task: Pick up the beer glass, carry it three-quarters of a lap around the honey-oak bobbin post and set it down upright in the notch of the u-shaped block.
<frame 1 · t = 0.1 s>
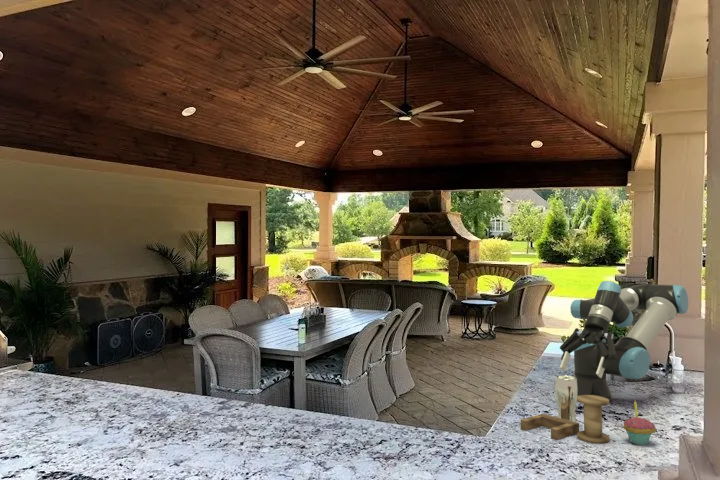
hand: (579, 372, 185), 15 cm above the countertop, tool tilted 35°, fingers open, 13 cm apart
cupcake: (639, 442, 159), on the countertop
bobbin: (593, 438, 162), on the countertop
u-shaped block: (549, 431, 169), on the countertop
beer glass: (566, 423, 178), on the countertop
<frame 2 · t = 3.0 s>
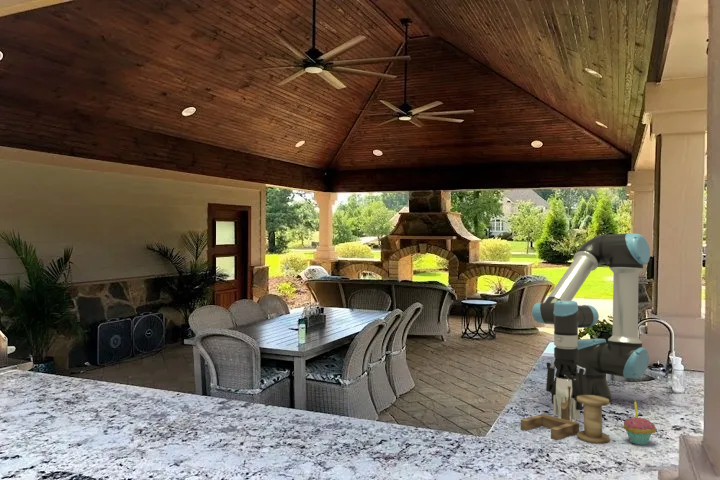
hand: (566, 416, 179), 2 cm above the countertop, tool pointing down, fingers closed on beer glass, 6 cm apart
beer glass: (566, 423, 178), on the countertop, touching gripper
everything else where it was.
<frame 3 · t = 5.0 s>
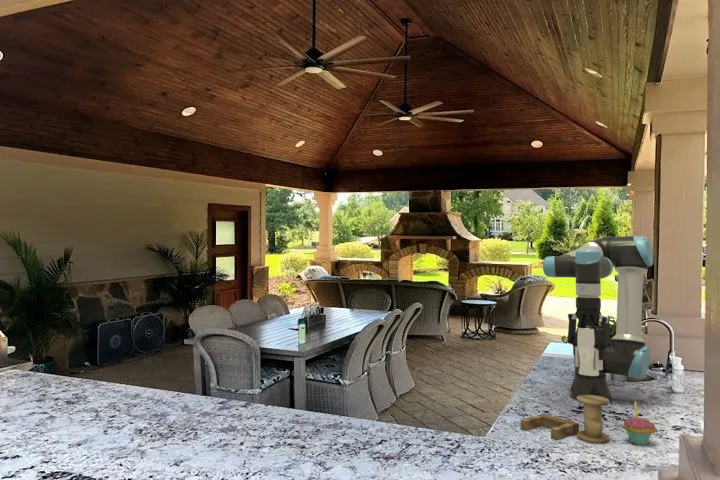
hand: (588, 368, 174), 19 cm above the countertop, tool pointing down, fingers closed on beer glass, 6 cm apart
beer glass: (588, 374, 173), point 17 cm above the countertop, touching gripper
everything else where it was.
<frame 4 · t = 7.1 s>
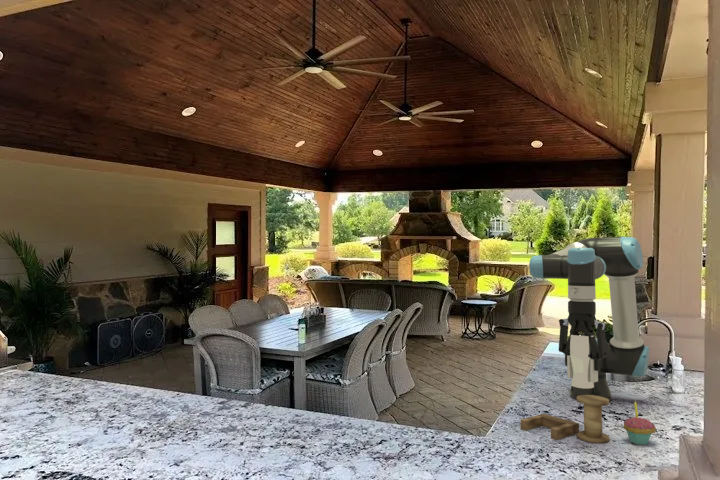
hand: (582, 379, 156), 19 cm above the countertop, tool pointing down, fingers closed on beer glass, 6 cm apart
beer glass: (582, 387, 156), point 17 cm above the countertop, touching gripper
everything else where it was.
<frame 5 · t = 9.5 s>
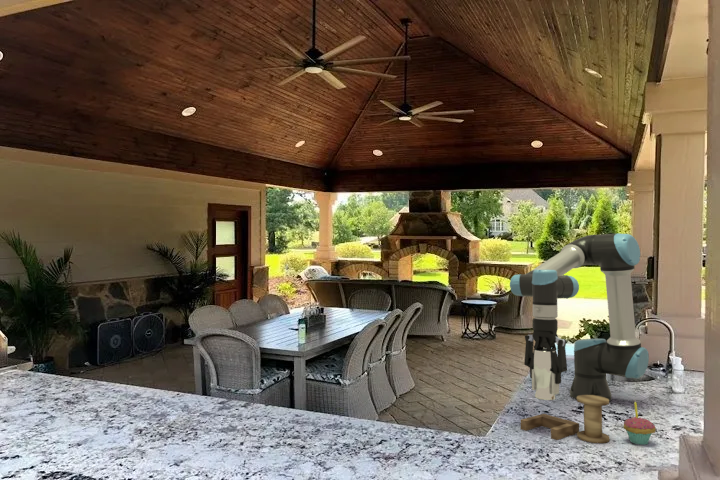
hand: (545, 391, 169), 13 cm above the countertop, tool pointing down, fingers closed on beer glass, 6 cm apart
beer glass: (545, 398, 169), point 10 cm above the countertop, touching gripper
everything else where it was.
when the fingers open (4 cm above the countertop, at t = 11.4 s): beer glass drops 2 cm, on the countertop.
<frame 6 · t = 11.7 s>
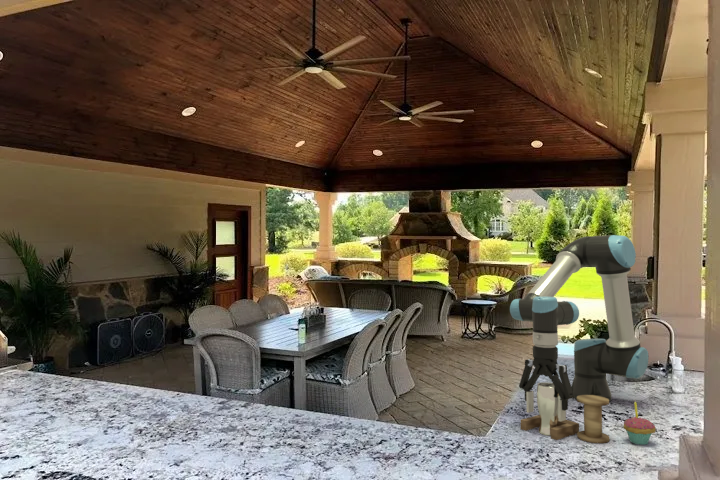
hand: (545, 416, 168), 5 cm above the countertop, tool pointing down, fingers open, 11 cm apart
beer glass: (548, 433, 167), on the countertop
everything else where it was.
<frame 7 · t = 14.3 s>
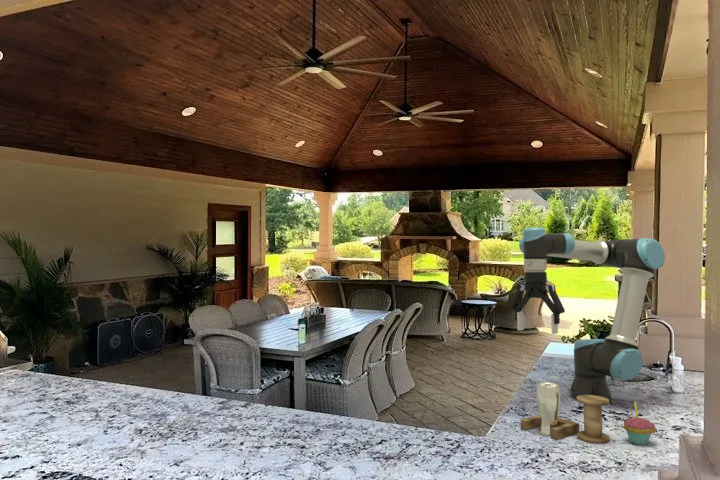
hand: (537, 331, 189), 29 cm above the countertop, tool pointing down, fingers open, 13 cm apart
nothing on the countertop moved.
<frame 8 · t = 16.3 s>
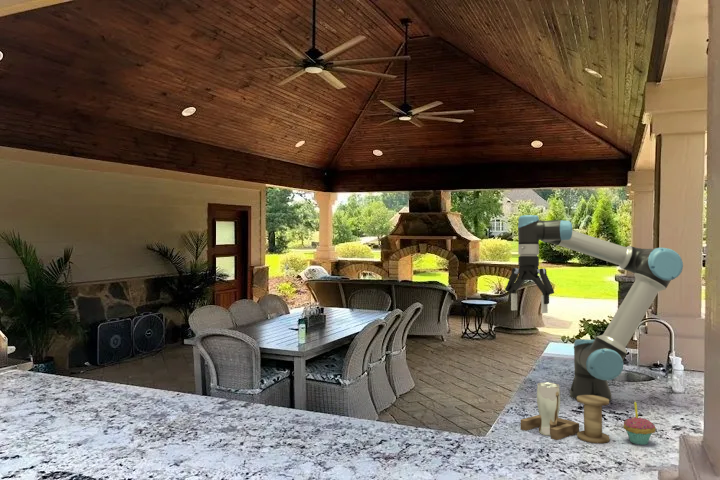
hand: (528, 311, 204), 35 cm above the countertop, tool pointing down, fingers open, 13 cm apart
nothing on the countertop moved.
at the end: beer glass inside the target area (1.1 cm from its centre), on the countertop; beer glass tilted 0°; the gripper is holding nothing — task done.
